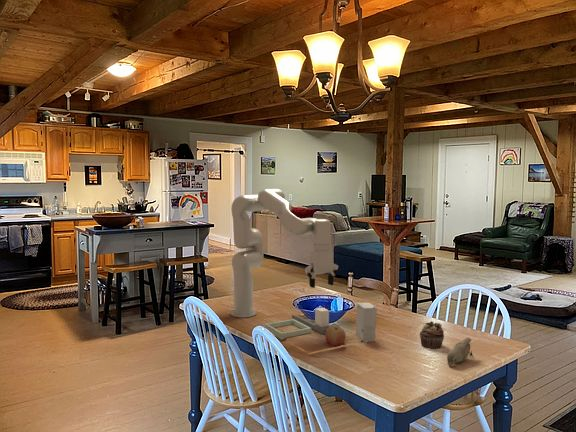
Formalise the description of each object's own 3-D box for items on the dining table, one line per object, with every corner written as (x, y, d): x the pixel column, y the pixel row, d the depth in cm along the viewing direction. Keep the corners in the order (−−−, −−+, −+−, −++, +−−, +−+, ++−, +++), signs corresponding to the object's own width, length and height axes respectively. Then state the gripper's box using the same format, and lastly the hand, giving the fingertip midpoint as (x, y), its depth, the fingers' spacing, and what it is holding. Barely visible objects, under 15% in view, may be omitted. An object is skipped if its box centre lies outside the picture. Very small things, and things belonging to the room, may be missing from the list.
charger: (314, 328, 213) (315, 308, 212) (322, 326, 215) (322, 307, 214) (321, 331, 209) (321, 311, 208) (328, 329, 211) (328, 310, 210)
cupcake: (445, 344, 197) (446, 321, 196) (440, 351, 188) (441, 327, 188) (422, 340, 202) (423, 317, 201) (416, 347, 193) (417, 323, 192)
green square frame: (264, 330, 212) (264, 323, 212) (293, 325, 220) (293, 319, 220) (281, 340, 200) (281, 333, 199) (311, 334, 207) (311, 328, 207)
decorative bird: (442, 365, 175) (443, 346, 174) (461, 354, 186) (462, 335, 186) (456, 370, 171) (457, 349, 170) (475, 358, 182) (476, 339, 182)
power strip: (286, 318, 232) (286, 310, 231) (298, 316, 235) (298, 308, 235) (322, 336, 205) (323, 328, 205) (336, 334, 209) (336, 326, 208)
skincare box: (355, 336, 206) (356, 302, 205) (368, 335, 208) (368, 301, 206) (362, 342, 198) (363, 307, 197) (376, 341, 200) (377, 306, 198)
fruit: (329, 349, 190) (329, 330, 189) (322, 342, 198) (323, 324, 197) (348, 347, 192) (348, 328, 191) (340, 341, 200) (341, 322, 199)
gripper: (333, 245, 216) (332, 282, 217) (300, 247, 207) (300, 286, 208) (342, 247, 209) (342, 285, 211) (309, 250, 201) (309, 289, 202)
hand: (321, 285), depth 210 cm, fingers open, 9 cm apart
